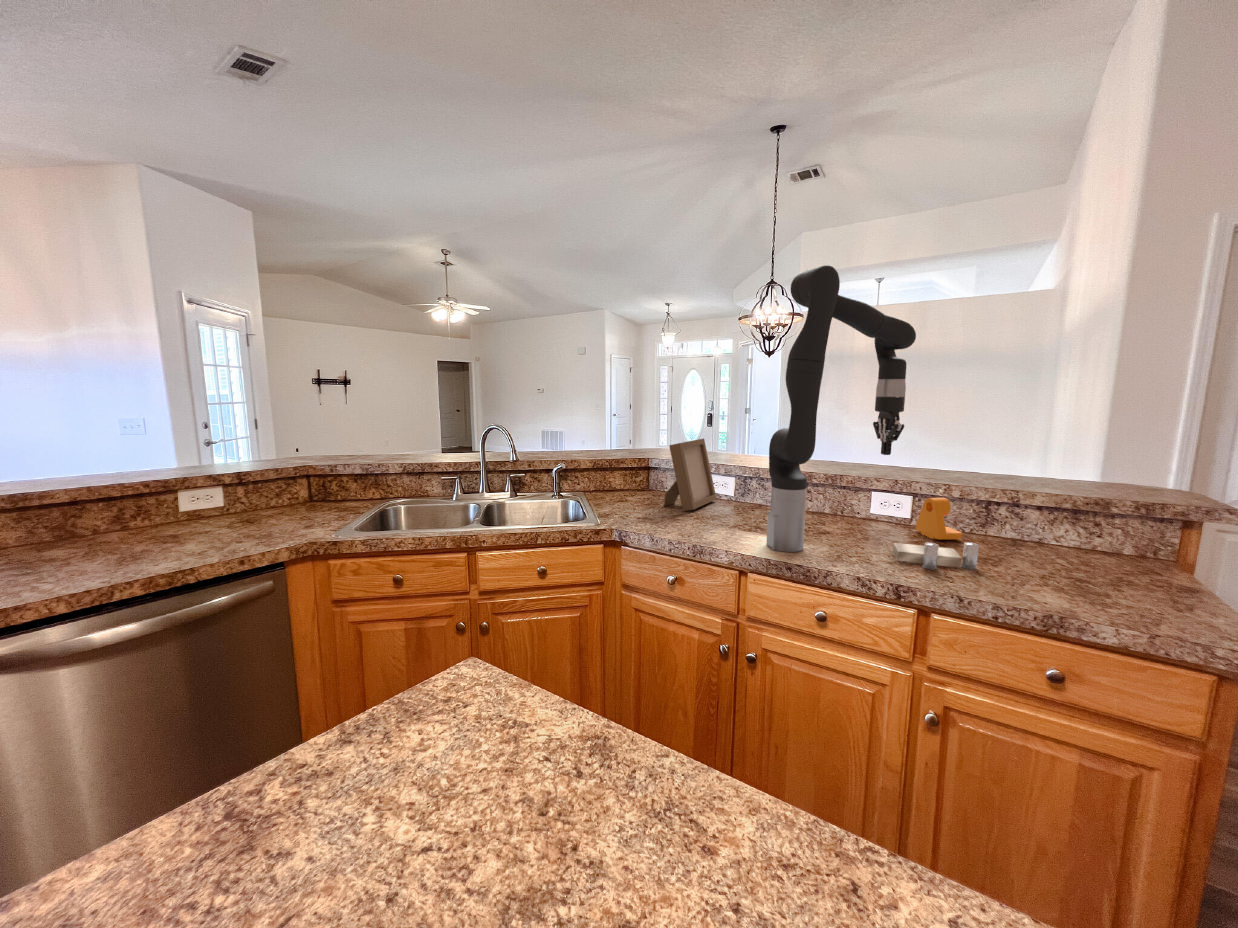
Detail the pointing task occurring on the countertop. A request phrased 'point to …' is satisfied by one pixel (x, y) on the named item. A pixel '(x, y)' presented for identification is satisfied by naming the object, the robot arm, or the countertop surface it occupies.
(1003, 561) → the countertop surface
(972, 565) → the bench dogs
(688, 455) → the photo frame
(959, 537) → the bracket
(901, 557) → the cream curved panel
